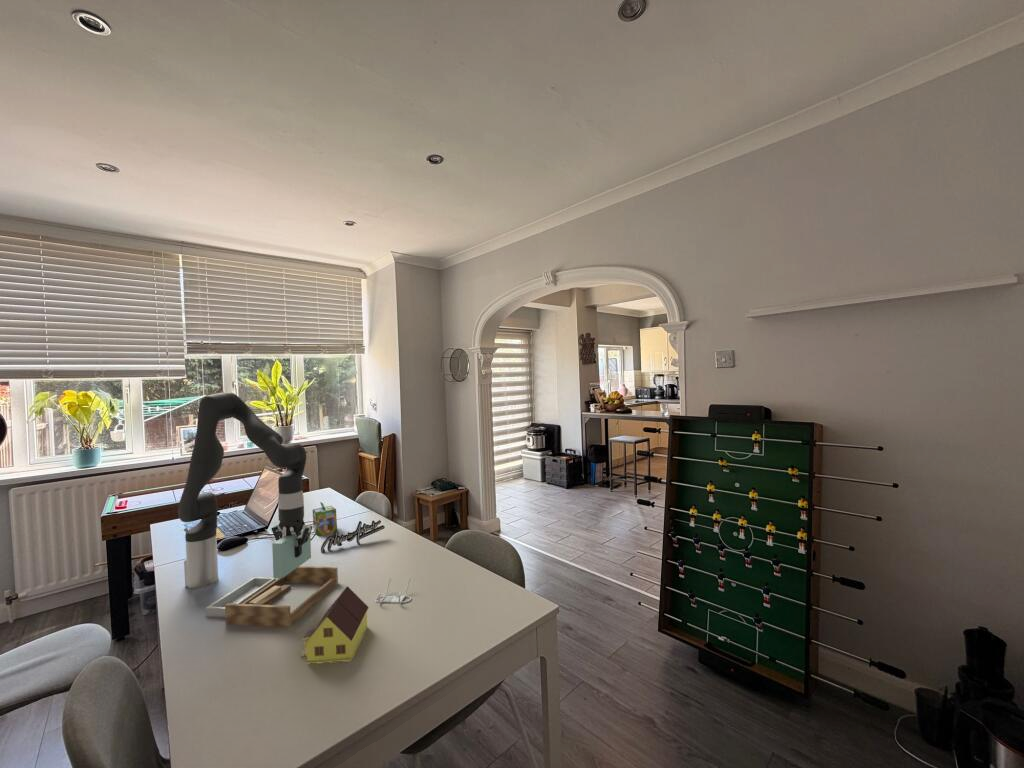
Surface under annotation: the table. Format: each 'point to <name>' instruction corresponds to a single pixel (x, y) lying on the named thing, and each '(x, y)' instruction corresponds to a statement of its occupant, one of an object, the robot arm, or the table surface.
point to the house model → (337, 630)
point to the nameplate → (352, 535)
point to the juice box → (324, 520)
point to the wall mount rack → (393, 598)
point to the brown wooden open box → (278, 613)
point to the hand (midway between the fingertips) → (292, 556)
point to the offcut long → (283, 588)
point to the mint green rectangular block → (288, 556)
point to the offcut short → (266, 595)
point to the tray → (238, 595)
